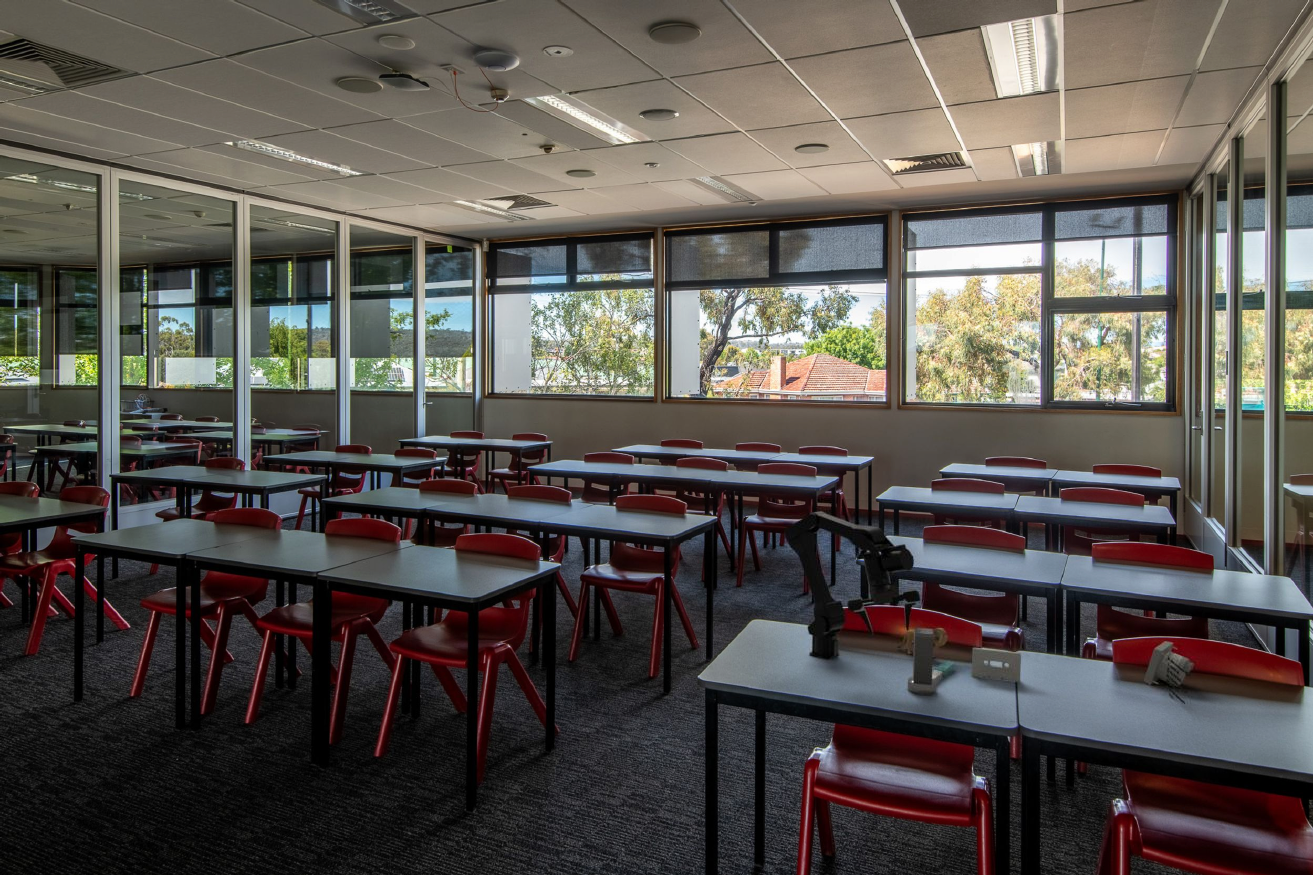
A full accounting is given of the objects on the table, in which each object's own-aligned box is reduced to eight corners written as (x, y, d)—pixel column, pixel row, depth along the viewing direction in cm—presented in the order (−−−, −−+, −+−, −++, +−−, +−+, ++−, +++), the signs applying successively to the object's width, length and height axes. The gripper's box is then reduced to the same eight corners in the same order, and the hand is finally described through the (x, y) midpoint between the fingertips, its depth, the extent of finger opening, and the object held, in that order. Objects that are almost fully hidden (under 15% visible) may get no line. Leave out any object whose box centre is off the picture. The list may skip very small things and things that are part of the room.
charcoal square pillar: (913, 683, 209) (915, 632, 208) (912, 677, 214) (914, 627, 213) (931, 684, 208) (933, 634, 207) (930, 678, 213) (932, 629, 212)
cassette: (1019, 680, 219) (1021, 652, 218) (1020, 683, 217) (1021, 654, 217) (971, 674, 223) (972, 646, 223) (971, 676, 221) (972, 648, 221)
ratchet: (903, 691, 211) (903, 672, 210) (936, 666, 229) (937, 648, 229) (930, 698, 206) (931, 678, 206) (962, 671, 225) (963, 653, 225)
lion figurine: (949, 658, 236) (950, 627, 235) (942, 663, 232) (943, 631, 231) (900, 647, 245) (901, 617, 245) (892, 651, 241) (893, 621, 241)
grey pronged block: (1133, 673, 225) (1134, 637, 224) (1179, 676, 223) (1181, 640, 222) (1172, 711, 199) (1175, 671, 198) (1225, 716, 197) (1228, 675, 196)
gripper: (841, 581, 217) (853, 641, 214) (914, 569, 212) (927, 631, 210) (843, 579, 228) (855, 636, 225) (912, 568, 223) (925, 626, 221)
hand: (890, 633), depth 220 cm, fingers open, 9 cm apart
